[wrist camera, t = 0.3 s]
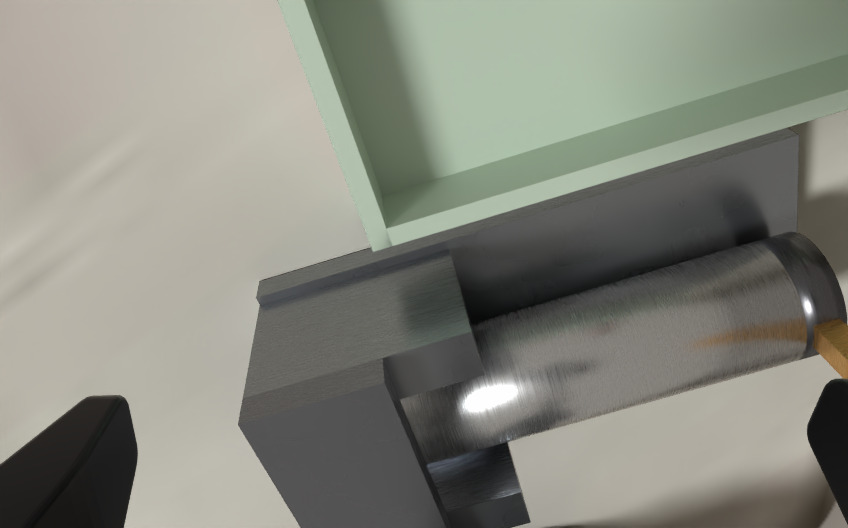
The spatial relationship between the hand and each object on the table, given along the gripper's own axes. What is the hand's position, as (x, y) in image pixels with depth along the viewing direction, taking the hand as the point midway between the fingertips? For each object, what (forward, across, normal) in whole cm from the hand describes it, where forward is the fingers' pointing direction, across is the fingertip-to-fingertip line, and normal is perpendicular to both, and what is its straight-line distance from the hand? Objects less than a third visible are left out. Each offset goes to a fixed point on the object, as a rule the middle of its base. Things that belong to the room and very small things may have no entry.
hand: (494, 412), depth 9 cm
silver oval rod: (+13, -5, +8) cm, 16 cm away
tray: (+14, -6, -3) cm, 15 cm away
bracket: (+14, -5, +8) cm, 16 cm away
